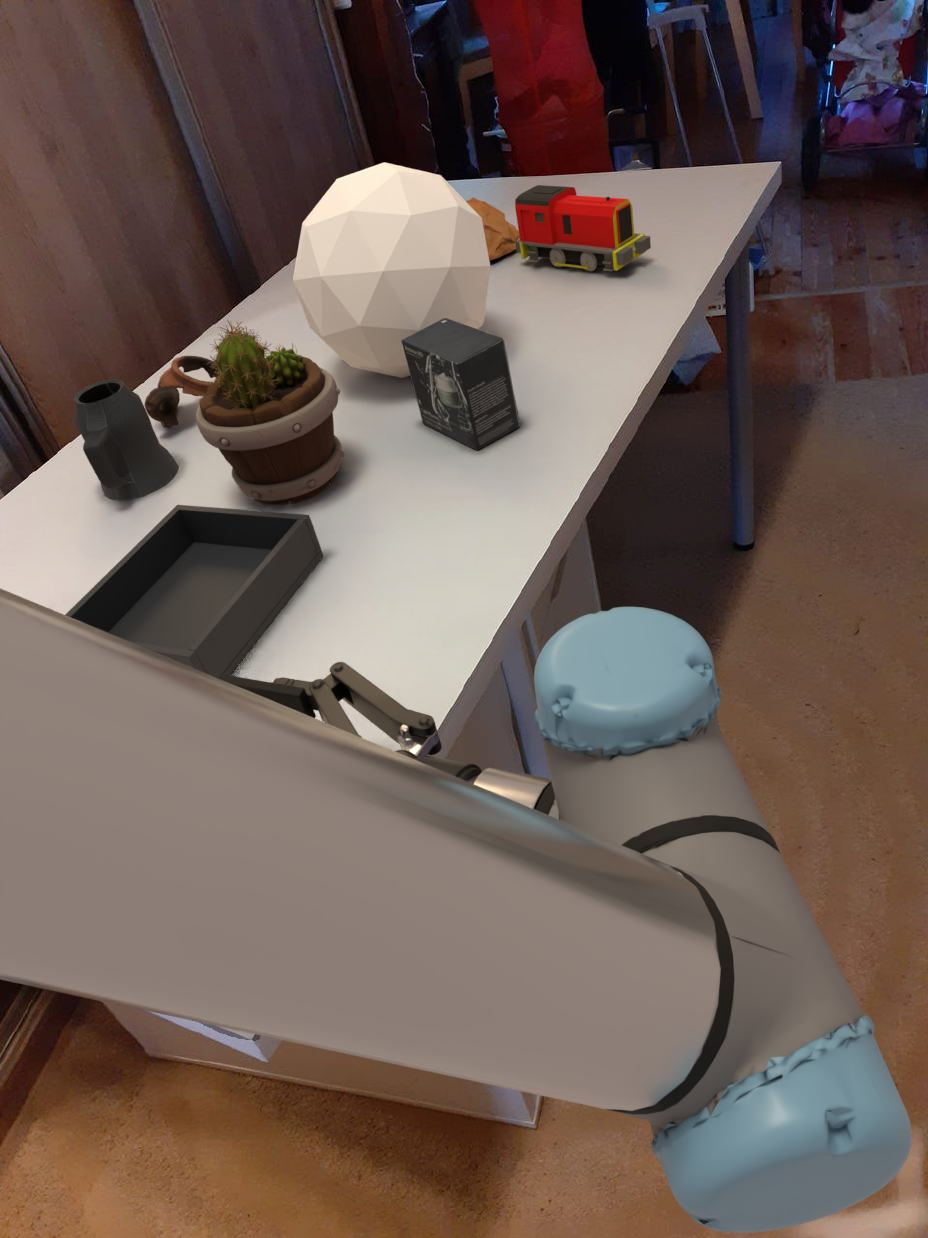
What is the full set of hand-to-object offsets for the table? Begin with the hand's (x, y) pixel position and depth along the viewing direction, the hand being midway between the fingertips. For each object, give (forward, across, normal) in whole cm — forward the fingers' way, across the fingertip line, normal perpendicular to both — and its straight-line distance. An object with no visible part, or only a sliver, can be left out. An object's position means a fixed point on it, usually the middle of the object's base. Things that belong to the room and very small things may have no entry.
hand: (171, 765), depth 59 cm
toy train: (+3, +102, -8) cm, 102 cm away
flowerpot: (+19, +43, -8) cm, 48 cm away
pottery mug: (+42, +56, -8) cm, 70 cm away
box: (+3, +56, -8) cm, 56 cm away
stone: (+23, +108, -8) cm, 111 cm away
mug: (+39, +41, -8) cm, 57 cm away
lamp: (+19, +76, -8) cm, 78 cm away
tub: (+16, +21, -7) cm, 28 cm away
